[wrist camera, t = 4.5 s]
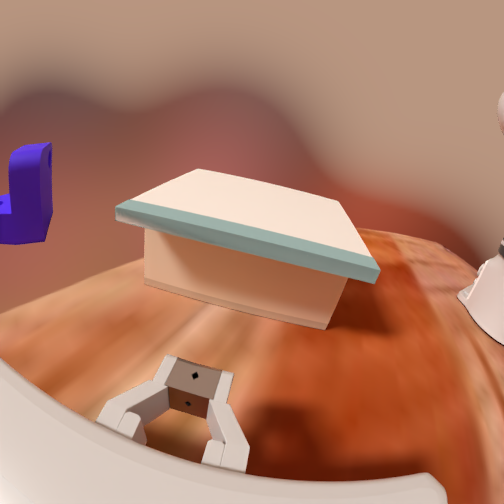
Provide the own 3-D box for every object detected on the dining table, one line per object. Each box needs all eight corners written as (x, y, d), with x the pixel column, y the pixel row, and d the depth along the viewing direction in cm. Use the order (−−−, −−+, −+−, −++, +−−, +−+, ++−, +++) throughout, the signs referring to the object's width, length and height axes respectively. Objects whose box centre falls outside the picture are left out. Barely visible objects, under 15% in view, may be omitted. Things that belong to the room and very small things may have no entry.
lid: (196, 176, 35) (197, 168, 35) (336, 208, 35) (338, 201, 34) (115, 220, 18) (115, 206, 18) (374, 283, 17) (380, 270, 17)
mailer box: (193, 230, 39) (200, 177, 35) (315, 260, 38) (332, 208, 35) (144, 283, 25) (146, 208, 22) (325, 330, 25) (355, 258, 21)
